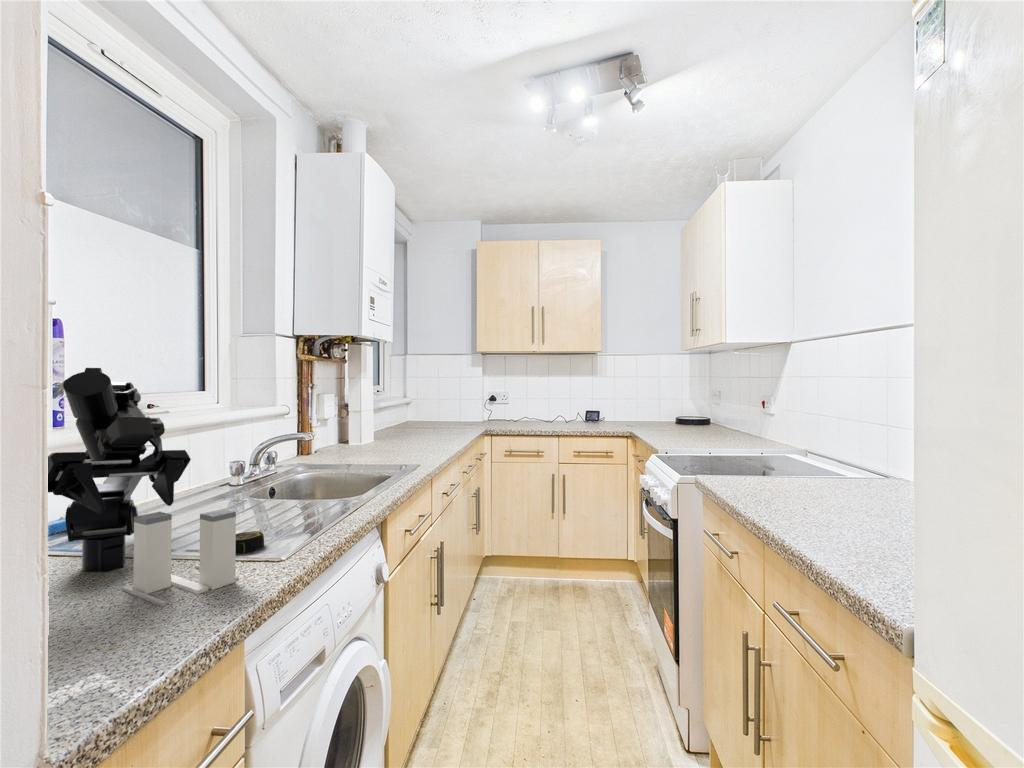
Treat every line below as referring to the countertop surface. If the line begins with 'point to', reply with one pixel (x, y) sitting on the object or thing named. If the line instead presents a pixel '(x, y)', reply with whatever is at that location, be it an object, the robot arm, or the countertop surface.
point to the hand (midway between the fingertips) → (138, 507)
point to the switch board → (176, 582)
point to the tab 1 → (152, 552)
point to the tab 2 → (217, 548)
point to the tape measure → (249, 542)
